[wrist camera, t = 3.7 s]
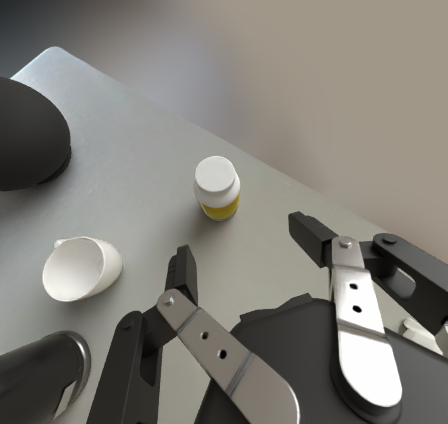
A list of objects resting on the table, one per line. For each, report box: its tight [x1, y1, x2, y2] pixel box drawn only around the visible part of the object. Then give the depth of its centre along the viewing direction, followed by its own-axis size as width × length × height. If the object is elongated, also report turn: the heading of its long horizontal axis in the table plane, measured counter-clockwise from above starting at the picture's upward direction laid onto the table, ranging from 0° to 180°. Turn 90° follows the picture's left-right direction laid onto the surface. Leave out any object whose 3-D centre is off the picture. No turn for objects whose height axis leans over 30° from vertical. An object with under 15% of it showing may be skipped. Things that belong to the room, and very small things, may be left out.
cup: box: [42, 237, 123, 302], centre depth 24 cm, size 8×10×7 cm
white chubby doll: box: [403, 318, 443, 355], centre depth 19 cm, size 9×8×15 cm
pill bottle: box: [194, 156, 240, 221], centre depth 24 cm, size 6×6×11 cm
